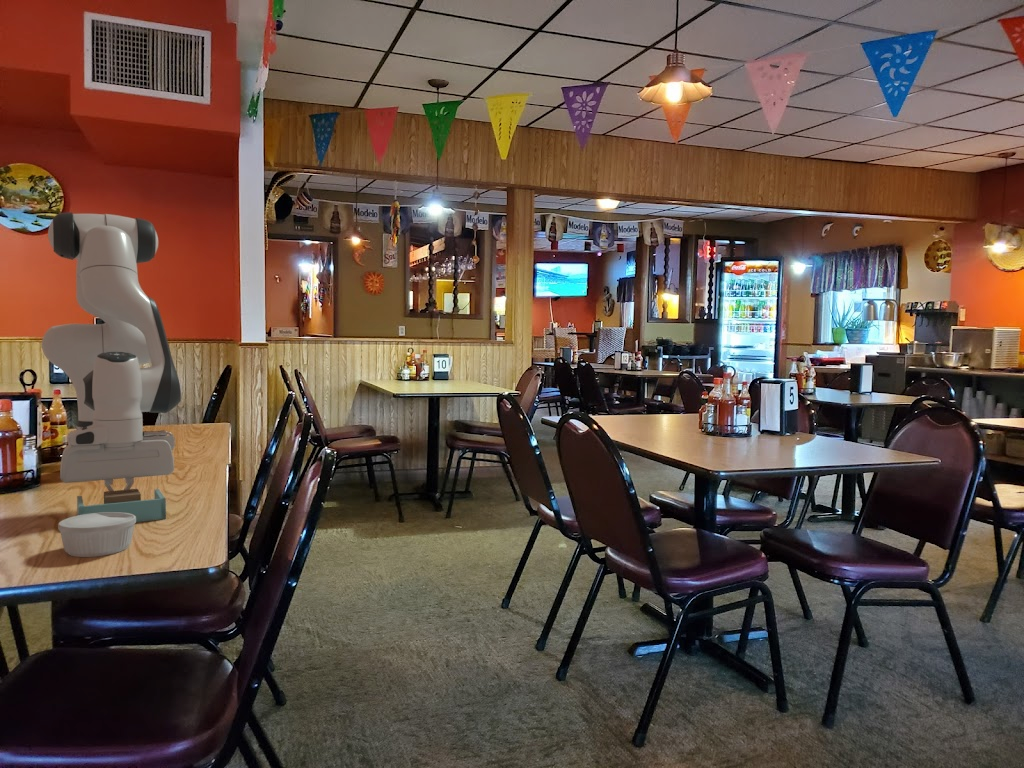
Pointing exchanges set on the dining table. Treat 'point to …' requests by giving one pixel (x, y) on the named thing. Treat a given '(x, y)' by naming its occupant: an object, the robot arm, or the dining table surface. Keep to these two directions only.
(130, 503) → the box
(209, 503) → the dining table surface
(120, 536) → the ramekin
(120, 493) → the walnut tile block
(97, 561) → the dining table surface
